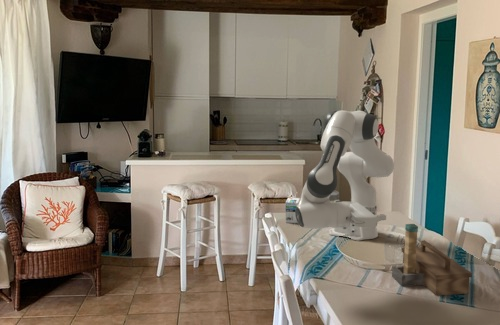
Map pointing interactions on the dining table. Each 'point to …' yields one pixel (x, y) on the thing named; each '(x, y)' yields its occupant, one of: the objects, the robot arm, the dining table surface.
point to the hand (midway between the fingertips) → (380, 213)
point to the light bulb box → (291, 209)
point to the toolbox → (434, 272)
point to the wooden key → (410, 248)
